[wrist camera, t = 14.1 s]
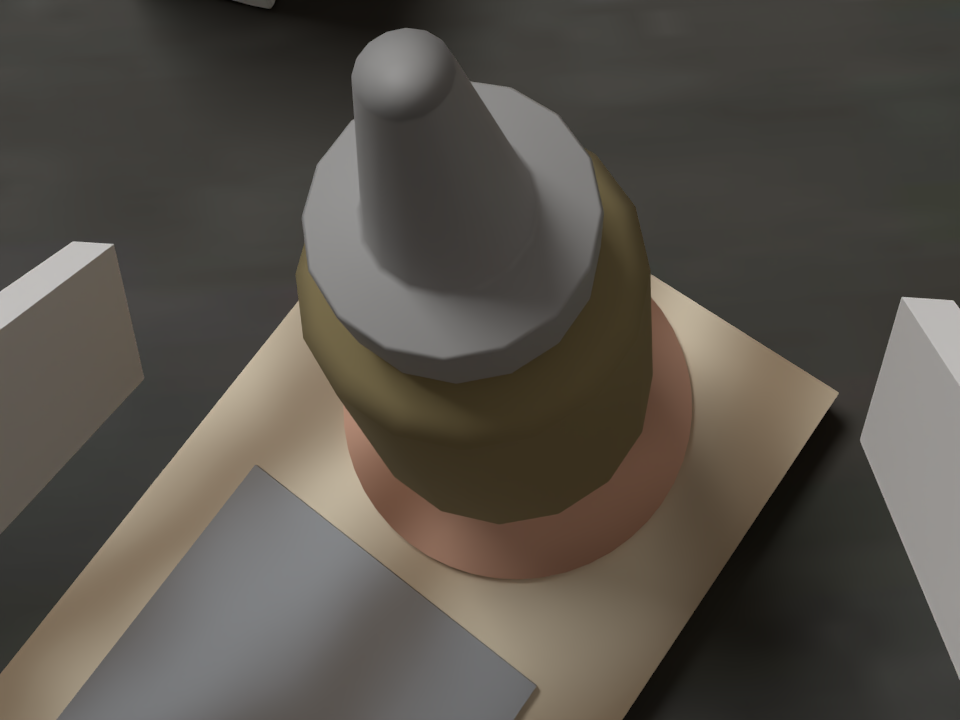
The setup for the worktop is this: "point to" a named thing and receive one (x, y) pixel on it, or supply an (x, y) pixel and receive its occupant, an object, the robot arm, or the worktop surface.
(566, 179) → the squeeze bottle
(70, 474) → the worktop surface
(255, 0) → the supplement box
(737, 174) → the worktop surface
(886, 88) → the worktop surface
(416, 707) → the board
